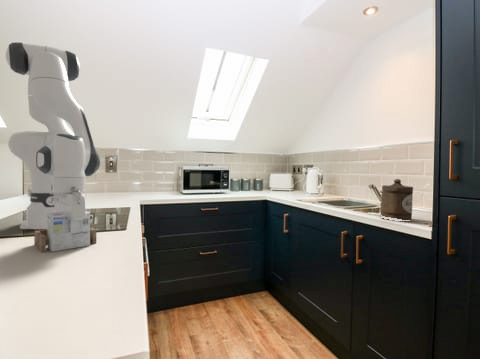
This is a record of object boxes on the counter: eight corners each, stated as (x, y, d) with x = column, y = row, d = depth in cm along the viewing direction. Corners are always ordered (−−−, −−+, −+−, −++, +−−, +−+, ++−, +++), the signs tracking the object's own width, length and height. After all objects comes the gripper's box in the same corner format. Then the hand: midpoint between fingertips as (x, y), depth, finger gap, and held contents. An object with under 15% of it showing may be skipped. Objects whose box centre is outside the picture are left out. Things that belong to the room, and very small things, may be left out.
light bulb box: (84, 240, 93) (84, 209, 93) (90, 245, 89) (91, 212, 88) (46, 246, 86) (46, 212, 85) (51, 252, 81) (51, 216, 80)
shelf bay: (34, 244, 88) (34, 230, 88) (86, 237, 99) (85, 224, 99) (41, 252, 81) (41, 237, 81) (96, 243, 92) (96, 229, 92)
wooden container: (411, 223, 141) (413, 180, 141) (379, 219, 149) (380, 178, 148) (411, 219, 154) (413, 179, 153) (381, 216, 162) (383, 178, 161)
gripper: (91, 188, 81) (91, 235, 82) (71, 184, 96) (71, 224, 96) (67, 188, 77) (67, 238, 77) (49, 184, 91) (49, 226, 92)
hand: (69, 230), depth 87 cm, fingers open, 7 cm apart
